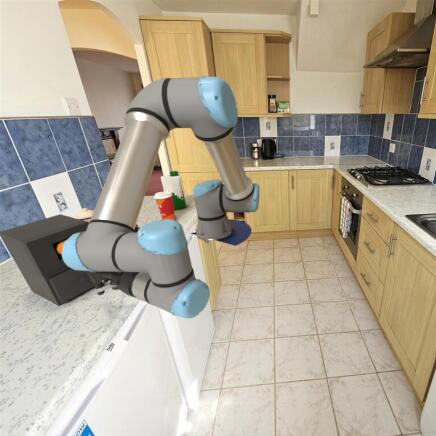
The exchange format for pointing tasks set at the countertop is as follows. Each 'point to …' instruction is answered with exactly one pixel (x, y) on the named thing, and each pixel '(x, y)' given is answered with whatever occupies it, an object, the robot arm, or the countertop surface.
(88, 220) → the teacup with lid
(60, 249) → the button
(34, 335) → the countertop surface
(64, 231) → the panel
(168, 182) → the milk carton
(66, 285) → the pull-out fryer drawer
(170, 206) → the paper cup
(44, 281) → the fryer base
